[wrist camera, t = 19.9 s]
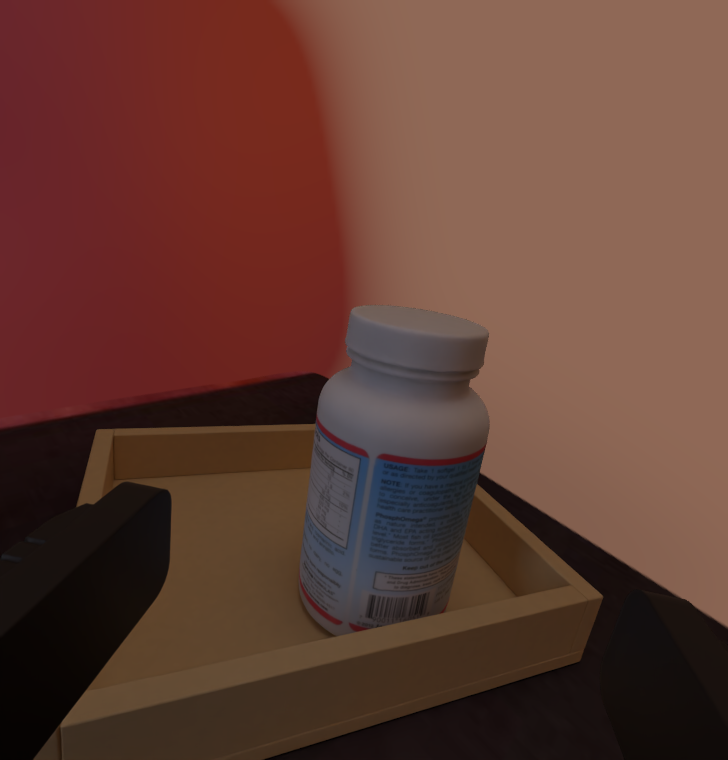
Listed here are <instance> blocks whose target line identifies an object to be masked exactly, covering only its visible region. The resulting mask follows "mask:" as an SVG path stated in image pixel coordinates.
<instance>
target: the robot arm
mask: <svg viewBox="0 0 728 760" xmlns="http://www.w3.org/2000/svg"><path fill="white" fill-rule="evenodd" d="M171 510H172V499H171V494H170V492H169V491H168V490H166V489H162V488H157V487H152V486H147V485H143V484H138V483H133V482H128V481H126V482H122V483H120V484H119V485H118V486H116V487H115V488H114V489H112V490H111V491H110V492H109V493H107V494H106V495H105V496H103V497H102V498H101V499H100V500H98V501H97V502H96V503H95V504H89V503H85V504H83V505H81V506H78V507H76V508H74V509H71V510H69V511H66V512H64V513H62V514H59V515H57V516H54V517H52V518H51V519H50V520H48V521H47V522H46V523H44V524H43V525H41V526H40V527H39V528H37V529H36V530H35V531H33V532H32V533H31V534H29V535H28V536H26V538H25V541H24V542H22V541H20V542H18V543H17V544H15V545H14V546H13V547H11V548H10V549H9V550H7V551H6V552H5V553H3V554H2V557H1V558H0V760H33V759H34V758H35V756H36V755H37V754H38V752H39V751H40V750H41V748H42V747H43V746H44V745H45V743H46V742H47V741H48V739H49V738H50V737H51V735H52V734H53V733H54V732H55V730H56V729H57V728H58V726H59V725H60V724H61V722H62V721H63V720H64V718H65V717H66V716H67V715H68V713H69V712H70V711H71V709H72V708H73V707H74V705H75V704H76V703H77V701H78V700H79V699H80V698H81V696H82V695H83V694H84V692H85V691H86V690H87V688H88V687H89V686H90V684H91V683H92V682H93V681H94V679H95V678H96V677H97V675H98V674H99V673H100V671H101V670H102V669H103V668H104V666H105V665H106V664H107V662H108V661H109V660H110V658H111V657H112V656H113V654H114V653H115V652H116V651H117V649H118V648H119V647H120V645H121V644H122V643H123V641H124V640H125V639H126V637H127V636H128V635H129V634H130V632H131V631H132V630H133V628H134V627H135V626H136V624H137V623H138V622H139V620H140V619H141V618H142V617H143V615H144V614H145V613H146V611H147V610H148V609H149V607H150V606H151V605H152V604H153V602H154V601H155V599H156V598H157V597H158V595H159V593H160V591H161V589H162V587H163V585H164V583H165V580H166V577H167V574H168V570H169V564H170V541H171ZM600 688H601V695H602V699H603V703H604V706H605V709H606V711H607V714H608V717H609V719H610V722H611V724H612V727H613V730H614V732H615V735H616V738H617V740H618V743H619V746H620V748H621V751H622V754H623V756H624V759H625V760H728V645H727V644H726V643H725V642H723V641H719V640H718V639H717V637H716V636H715V635H714V633H713V632H712V631H711V629H710V628H709V626H708V625H707V624H706V622H705V621H704V620H703V618H702V617H701V615H700V614H699V613H698V611H697V610H696V609H695V607H694V606H693V605H692V604H691V603H690V602H689V601H687V600H685V599H680V598H675V597H670V596H666V595H661V594H656V593H651V592H647V591H642V590H637V589H636V590H633V591H631V592H630V593H629V594H628V596H627V597H626V599H625V602H624V604H623V607H622V609H621V612H620V615H619V617H618V620H617V622H616V625H615V628H614V630H613V633H612V635H611V638H610V641H609V643H608V646H607V648H606V651H605V654H604V656H603V659H602V663H601V668H600Z"/></svg>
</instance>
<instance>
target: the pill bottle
mask: <svg viewBox="0 0 728 760" xmlns="http://www.w3.org/2000/svg"><path fill="white" fill-rule="evenodd" d="M488 337H489V333H488V330H487V329H486V328H484V327H482V326H481V325H479V324H476V323H474V322H471V321H469V320H466V319H462V318H459V317H455V316H451V315H447V314H443V313H438V312H433V311H428V310H422V309H416V308H408V307H399V306H385V305H366V306H359V307H355V308H353V309H352V310H351V313H350V319H349V324H348V331H347V337H346V339H345V343H346V345H347V346H348V347H347V350H346V352H347V354H348V356H349V357H350V358H351V359H352V365H351V366H350V367H348V368H345V369H343V370H341V371H339V372H338V373H336V374H335V375H333V376H332V377H331V378H330V379H329V380H328V381H327V383H326V384H325V385H324V387H323V389H322V391H321V394H320V397H319V403H318V409H317V417H316V425H315V434H314V443H313V451H312V460H311V469H310V478H309V486H308V495H307V504H306V513H305V522H304V530H303V539H302V548H301V556H300V566H299V580H298V582H299V590H300V595H301V598H302V601H303V603H304V605H305V607H306V609H307V611H308V612H309V614H310V615H311V616H312V617H313V618H314V619H315V621H316V622H318V623H319V624H320V625H321V626H322V627H323V628H325V629H326V630H327V631H329V632H330V633H332V634H333V635H335V636H340V635H345V634H350V633H354V632H359V631H363V630H368V629H372V628H377V627H382V626H386V625H391V624H395V623H400V622H405V621H409V620H414V619H418V618H423V617H427V616H432V615H437V614H441V613H445V611H446V608H447V605H448V601H449V598H450V593H451V589H452V585H453V581H454V577H455V573H456V568H457V564H458V560H459V556H460V552H461V547H462V543H463V539H464V535H465V531H466V527H467V523H468V518H469V514H470V510H471V506H472V501H473V498H474V493H475V489H476V485H477V481H478V476H479V472H480V468H481V464H482V459H483V455H484V451H485V447H486V443H487V437H488V433H489V416H488V411H487V409H486V406H485V404H484V403H483V401H482V400H481V398H480V397H479V396H478V395H477V393H476V392H475V391H474V390H473V389H472V388H470V387H469V382H470V379H473V378H475V377H476V376H477V375H478V374H479V369H480V368H481V367H482V366H483V365H484V355H485V351H486V346H487V342H488Z"/></svg>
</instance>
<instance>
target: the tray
mask: <svg viewBox="0 0 728 760" xmlns="http://www.w3.org/2000/svg"><path fill="white" fill-rule="evenodd" d="M315 425H316V424H301V425H259V426H218V427H176V428H135V429H115V430H114V429H98V430H96V433H95V437H94V441H93V445H92V449H91V453H90V456H89V460H88V464H87V468H86V472H85V476H84V479H83V483H82V487H81V491H80V495H79V499H78V502H77V506H76V507H78V506H81V505H83V504H85V503H89V504H95V503H96V502H97V501H98V500H100V499H101V498H102V497H103V496H105V495H106V494H107V493H109V492H110V491H111V490H112V489H114V488H115V487H116V486H118V485H119V484H120V483H122V482H126V481H128V482H133V483H138V484H143V485H147V486H152V487H157V488H162V489H166V490H168V491H169V492H170V494H171V499H172V510H171V541H170V564H169V570H168V574H167V577H166V580H165V583H164V585H163V587H162V589H161V591H160V593H159V595H158V597H157V598H156V599H155V601H154V602H153V604H152V605H151V606H150V607H149V609H148V610H147V611H146V613H145V614H144V615H143V617H142V618H141V619H140V620H139V622H138V623H137V624H136V626H135V627H134V628H133V630H132V631H131V632H130V634H129V635H128V636H127V637H126V639H125V640H124V641H123V643H122V644H121V645H120V647H119V648H118V649H117V651H116V652H115V653H114V654H113V656H112V657H111V658H110V660H109V661H108V662H107V664H106V665H105V666H104V668H103V669H102V670H101V671H100V673H99V674H98V675H97V677H96V678H95V679H94V681H93V682H92V683H91V684H90V686H89V687H88V688H87V690H86V691H85V692H84V694H83V695H82V696H81V698H80V699H79V700H78V701H77V703H76V704H75V705H74V707H73V708H72V709H71V711H70V712H69V713H68V715H67V716H66V717H65V718H64V720H63V721H62V722H61V724H60V725H59V726H58V728H57V729H56V730H55V732H54V733H53V734H52V735H51V737H50V738H49V739H48V741H47V742H46V743H45V745H44V746H43V747H42V748H41V750H40V751H39V752H38V754H37V755H36V756H35V758H34V759H33V760H263V759H266V758H270V757H273V756H276V755H279V754H282V753H286V752H289V751H292V750H295V749H299V748H302V747H305V746H308V745H312V744H315V743H318V742H321V741H324V740H328V739H331V738H334V737H337V736H341V735H344V734H347V733H350V732H353V731H357V730H360V729H363V728H366V727H370V726H373V725H376V724H379V723H382V722H386V721H389V720H392V719H395V718H399V717H402V716H405V715H408V714H412V713H415V712H418V711H421V710H424V709H428V708H431V707H434V706H437V705H441V704H444V703H447V702H450V701H453V700H457V699H460V698H463V697H466V696H470V695H473V694H476V693H479V692H483V691H486V690H489V689H492V688H495V687H499V686H502V685H505V684H508V683H512V682H515V681H518V680H521V679H524V678H528V677H531V676H534V675H537V674H541V673H544V672H547V671H550V670H554V669H557V668H560V667H563V666H566V665H570V664H573V663H576V662H579V661H580V659H581V657H582V654H583V651H584V650H583V649H584V648H585V645H586V643H587V640H588V637H589V634H590V632H591V629H592V626H593V624H594V621H595V618H596V615H597V613H598V610H599V607H600V604H601V602H602V599H603V596H602V595H601V594H600V593H599V592H598V591H597V590H596V589H594V588H593V587H592V586H591V585H590V584H589V583H588V582H587V581H585V580H584V579H583V578H582V577H581V576H580V575H579V574H578V573H576V572H575V571H574V570H573V569H572V568H571V567H570V566H569V565H567V564H566V563H565V562H564V561H563V560H562V559H561V558H560V557H558V556H557V555H556V554H555V553H554V552H553V551H552V550H551V549H549V548H548V547H547V546H546V545H545V544H544V543H543V542H542V541H540V540H539V539H538V538H537V537H536V536H535V535H534V534H533V533H531V532H530V531H529V530H528V529H527V528H526V527H525V526H524V525H522V524H521V523H520V522H519V521H518V520H517V519H516V518H515V517H513V516H512V515H511V514H510V513H509V512H508V511H507V510H506V509H505V508H503V507H502V506H501V505H500V504H499V503H498V502H497V501H496V500H494V499H493V498H492V497H491V496H490V495H489V494H488V493H487V492H485V491H484V490H483V489H482V488H481V487H480V486H479V485H478V484H477V485H476V489H475V493H474V498H473V501H472V506H471V510H470V514H469V518H468V523H467V527H466V531H465V535H464V539H463V543H462V547H461V552H460V556H459V560H458V564H457V568H456V573H455V577H454V581H453V585H452V589H451V593H450V598H449V601H448V605H447V608H446V611H445V613H441V614H437V615H432V616H427V617H423V618H418V619H414V620H409V621H405V622H400V623H395V624H391V625H386V626H382V627H377V628H372V629H368V630H363V631H359V632H354V633H350V634H345V635H340V636H335V635H333V634H332V633H330V632H329V631H327V630H326V629H325V628H323V627H322V626H321V625H320V624H319V623H318V622H316V621H315V619H314V618H313V617H312V616H311V615H310V614H309V612H308V611H307V609H306V607H305V605H304V603H303V601H302V598H301V595H300V590H299V582H298V580H299V566H300V556H301V548H302V539H303V530H304V522H305V513H306V504H307V495H308V486H309V478H310V469H311V460H312V451H313V443H314V434H315Z"/></svg>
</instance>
